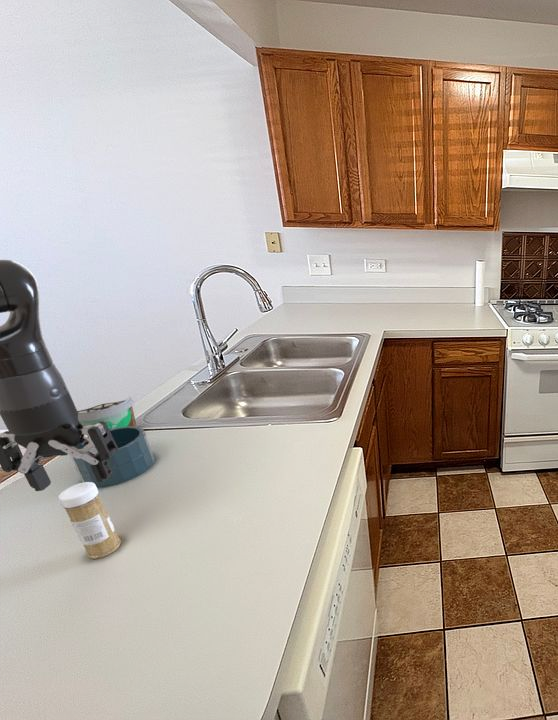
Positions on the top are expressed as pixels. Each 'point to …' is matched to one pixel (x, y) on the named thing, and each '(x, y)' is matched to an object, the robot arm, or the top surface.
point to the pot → (121, 457)
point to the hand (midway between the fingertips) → (74, 483)
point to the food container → (109, 414)
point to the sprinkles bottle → (90, 519)
